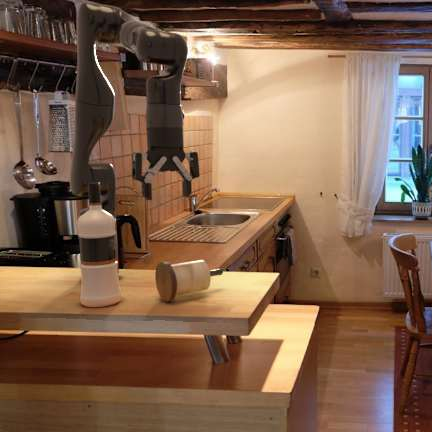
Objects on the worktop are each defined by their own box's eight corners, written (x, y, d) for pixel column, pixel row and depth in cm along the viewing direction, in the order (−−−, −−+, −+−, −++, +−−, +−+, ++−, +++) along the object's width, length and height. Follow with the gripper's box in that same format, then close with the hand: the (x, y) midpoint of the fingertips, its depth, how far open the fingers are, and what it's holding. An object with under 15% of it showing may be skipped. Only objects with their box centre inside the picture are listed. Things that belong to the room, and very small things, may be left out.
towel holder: (156, 296, 145) (154, 258, 143) (214, 285, 156) (213, 250, 155) (172, 305, 138) (171, 266, 136) (232, 293, 149) (231, 256, 148)
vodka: (76, 301, 140) (68, 181, 136) (116, 294, 146) (109, 179, 141) (85, 310, 133) (76, 184, 128) (126, 303, 139) (119, 183, 134)
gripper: (188, 125, 131) (191, 194, 134) (125, 124, 121) (128, 198, 124) (203, 126, 126) (205, 198, 128) (137, 125, 116) (141, 202, 119)
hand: (167, 198), depth 126 cm, fingers open, 8 cm apart
